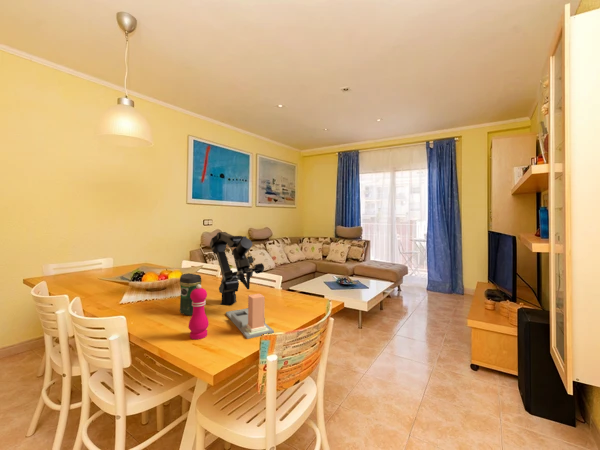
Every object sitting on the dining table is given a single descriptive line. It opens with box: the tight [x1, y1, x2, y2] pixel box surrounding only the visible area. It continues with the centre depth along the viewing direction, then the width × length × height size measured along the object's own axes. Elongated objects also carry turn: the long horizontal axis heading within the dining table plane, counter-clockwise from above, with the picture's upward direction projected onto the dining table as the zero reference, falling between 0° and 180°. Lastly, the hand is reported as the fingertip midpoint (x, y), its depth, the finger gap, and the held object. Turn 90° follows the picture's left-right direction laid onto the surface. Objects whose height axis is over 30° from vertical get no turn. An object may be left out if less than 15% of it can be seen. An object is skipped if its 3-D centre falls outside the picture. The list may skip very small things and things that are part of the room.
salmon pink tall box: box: [246, 293, 266, 332], centre depth 109 cm, size 6×6×13 cm
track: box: [225, 307, 275, 340], centre depth 118 cm, size 30×11×3 cm, turn 30°
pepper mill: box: [188, 284, 210, 340], centre depth 104 cm, size 7×7×20 cm
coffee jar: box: [179, 273, 202, 316], centre depth 129 cm, size 10×8×19 cm
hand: (248, 289), depth 125 cm, fingers closed
